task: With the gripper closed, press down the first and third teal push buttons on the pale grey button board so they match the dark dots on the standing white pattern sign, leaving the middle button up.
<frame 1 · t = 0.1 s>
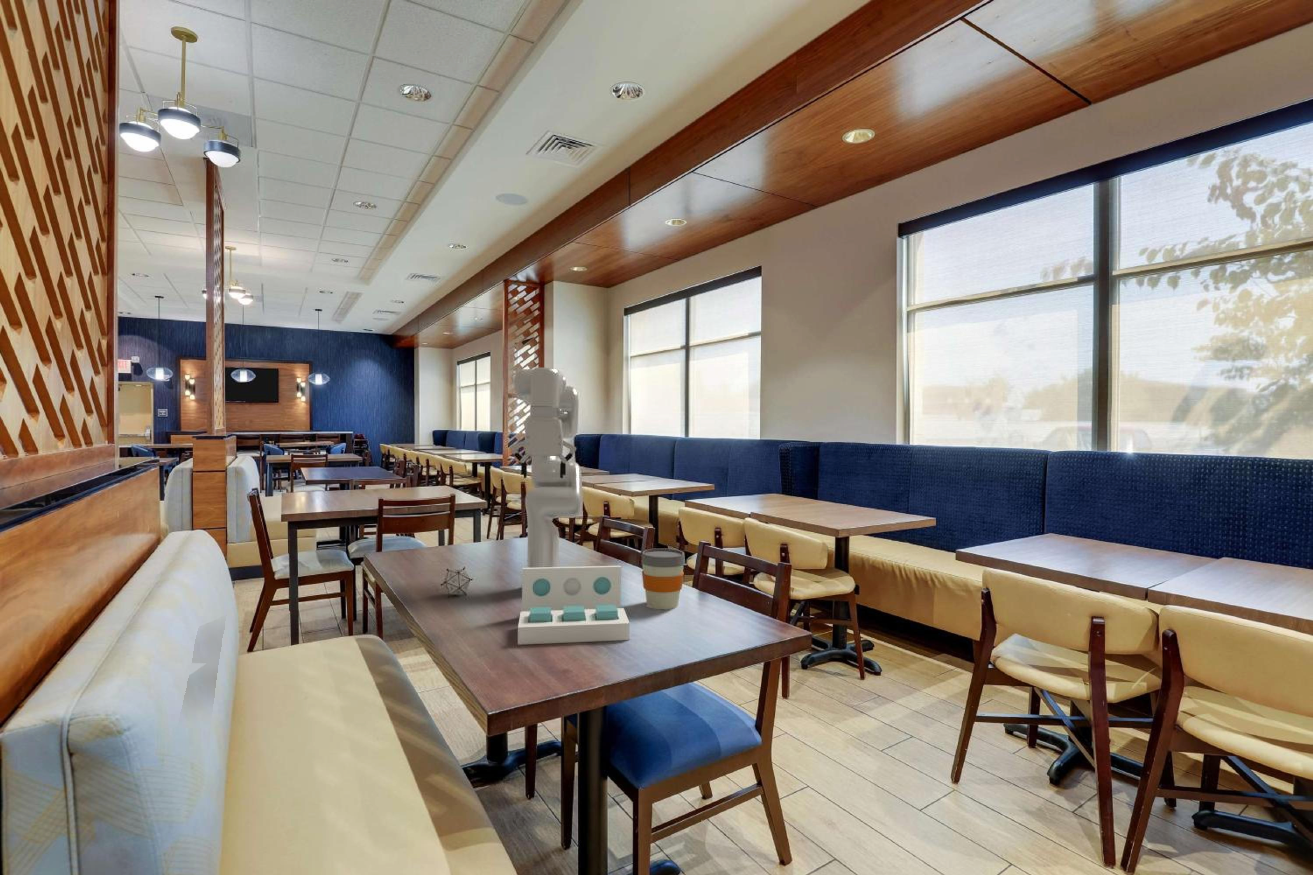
hand: (543, 477, 163), 37 cm above the table, tool pointing down, fingers open, 9 cm apart
grey geometric polyhedron ornament: (456, 596, 179), on the table
button a: (540, 617, 147), point 4 cm above the table, slide at 0.0 cm
pattern sign: (571, 615, 162), on the table
button b: (573, 615, 148), point 4 cm above the table, slide at 0.0 cm
button c: (606, 614, 150), point 4 cm above the table, slide at 0.0 cm
reusable coffee cup: (662, 605, 174), on the table
button board: (573, 633, 148), on the table
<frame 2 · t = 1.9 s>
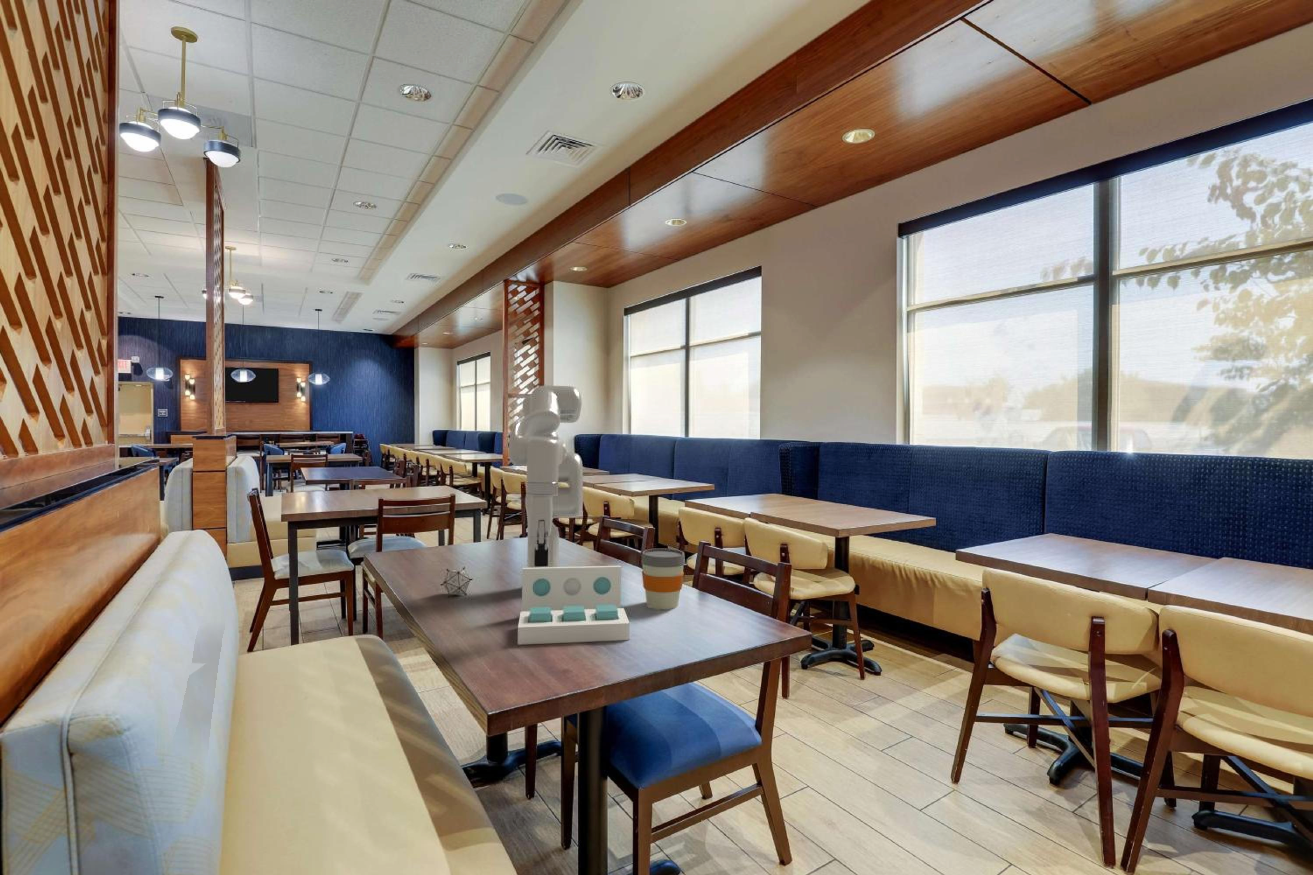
hand: (541, 564, 147), 17 cm above the table, tool pointing down, fingers closed
nothing on the table moved.
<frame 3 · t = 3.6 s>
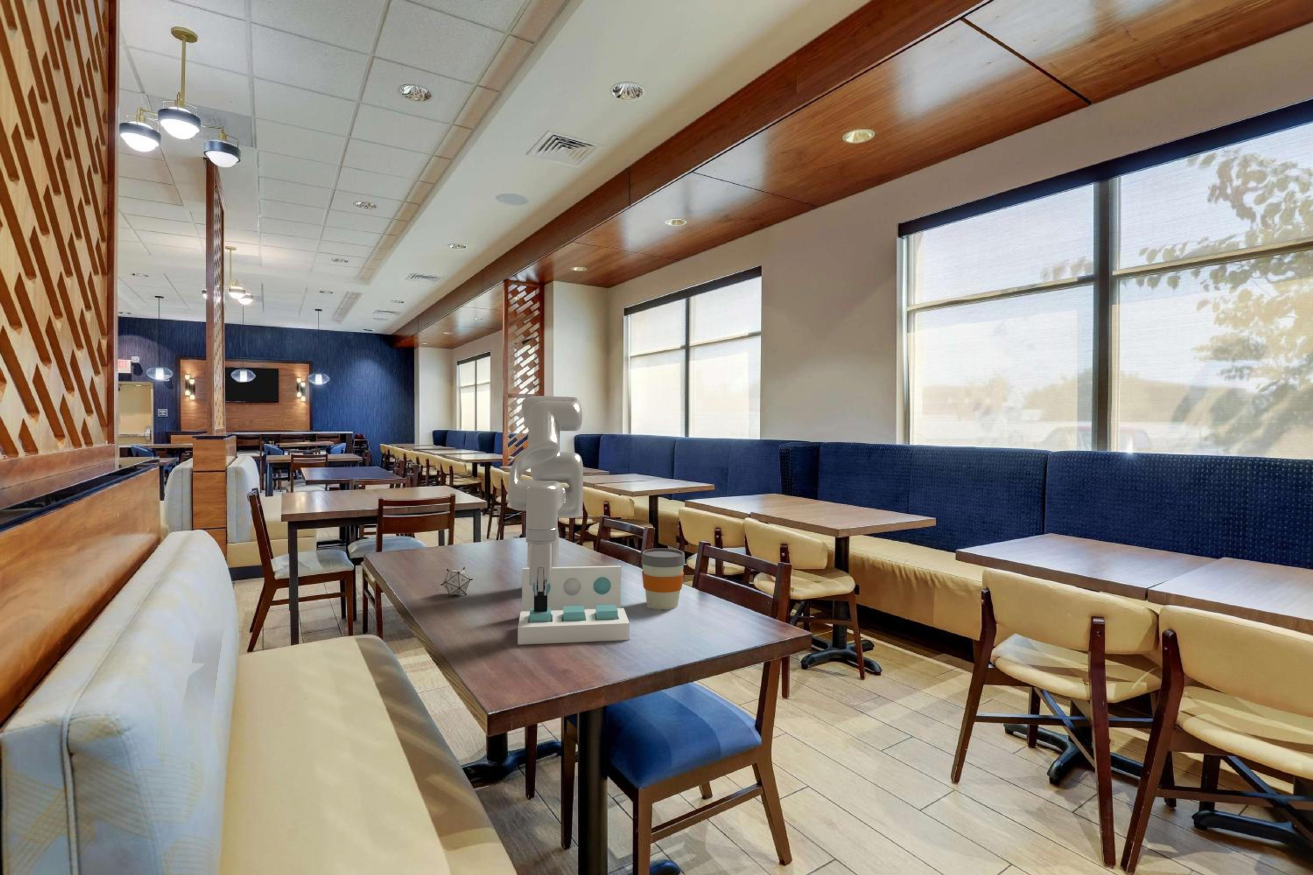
hand: (540, 610, 147), 6 cm above the table, tool pointing down, fingers closed
button a: (540, 617, 147), point 4 cm above the table, slide at 0.1 cm, touching gripper
everything else where it was.
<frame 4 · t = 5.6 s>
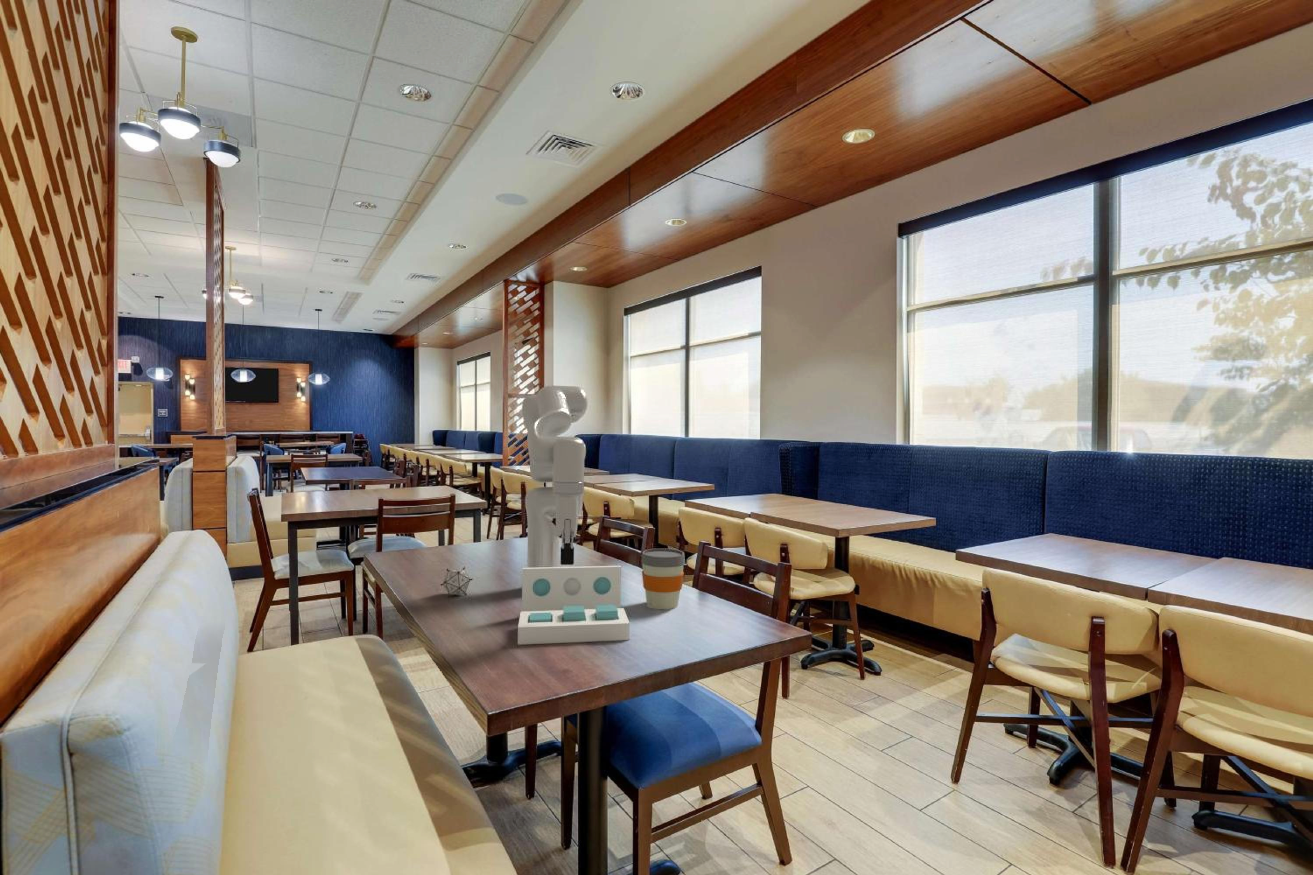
hand: (567, 563, 148), 17 cm above the table, tool pointing down, fingers closed
button a: (540, 622, 147), point 3 cm above the table, slide at 1.4 cm
everything else where it was.
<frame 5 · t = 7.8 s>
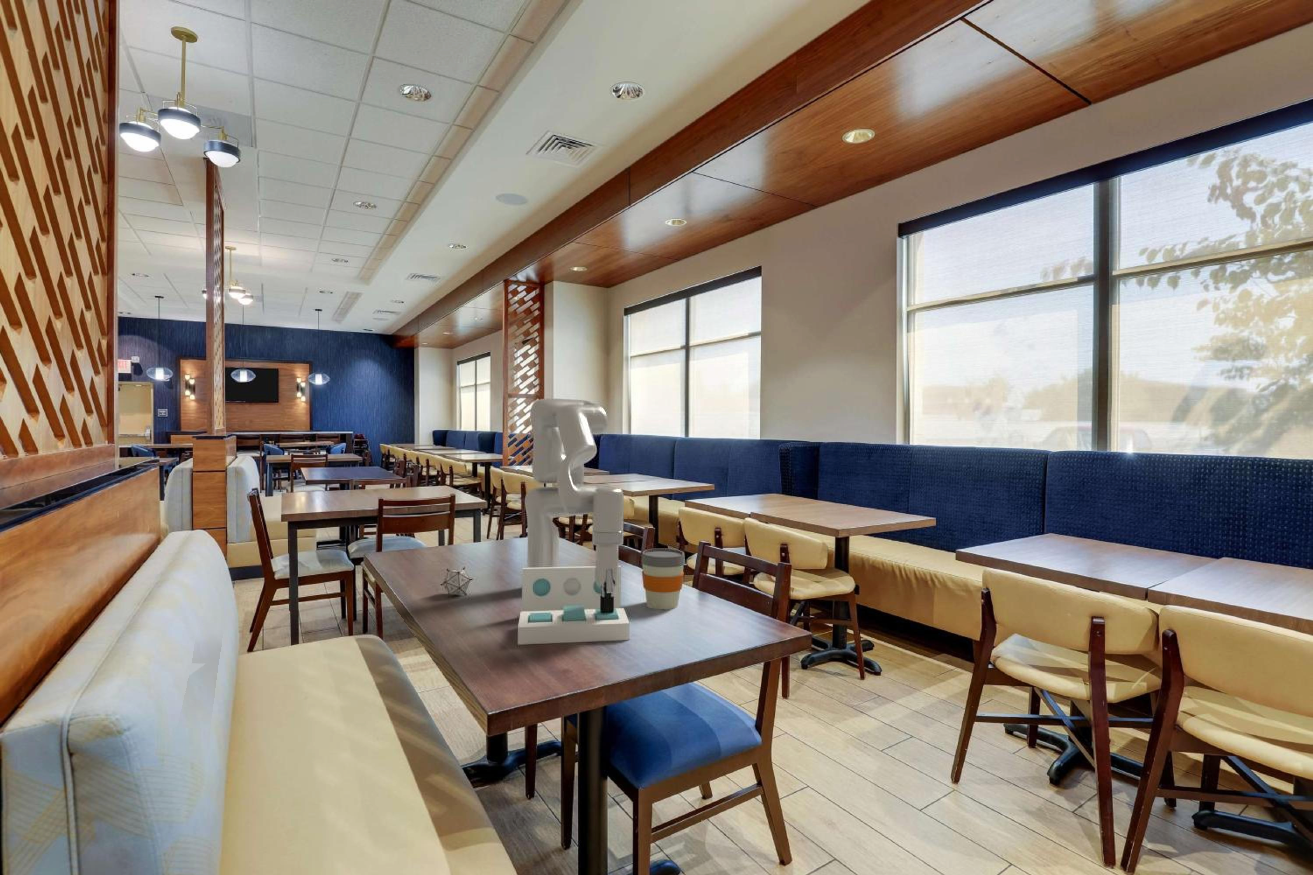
hand: (606, 611, 150), 5 cm above the table, tool pointing down, fingers closed
button c: (606, 618, 150), point 3 cm above the table, slide at 0.9 cm, touching gripper
everything else where it was.
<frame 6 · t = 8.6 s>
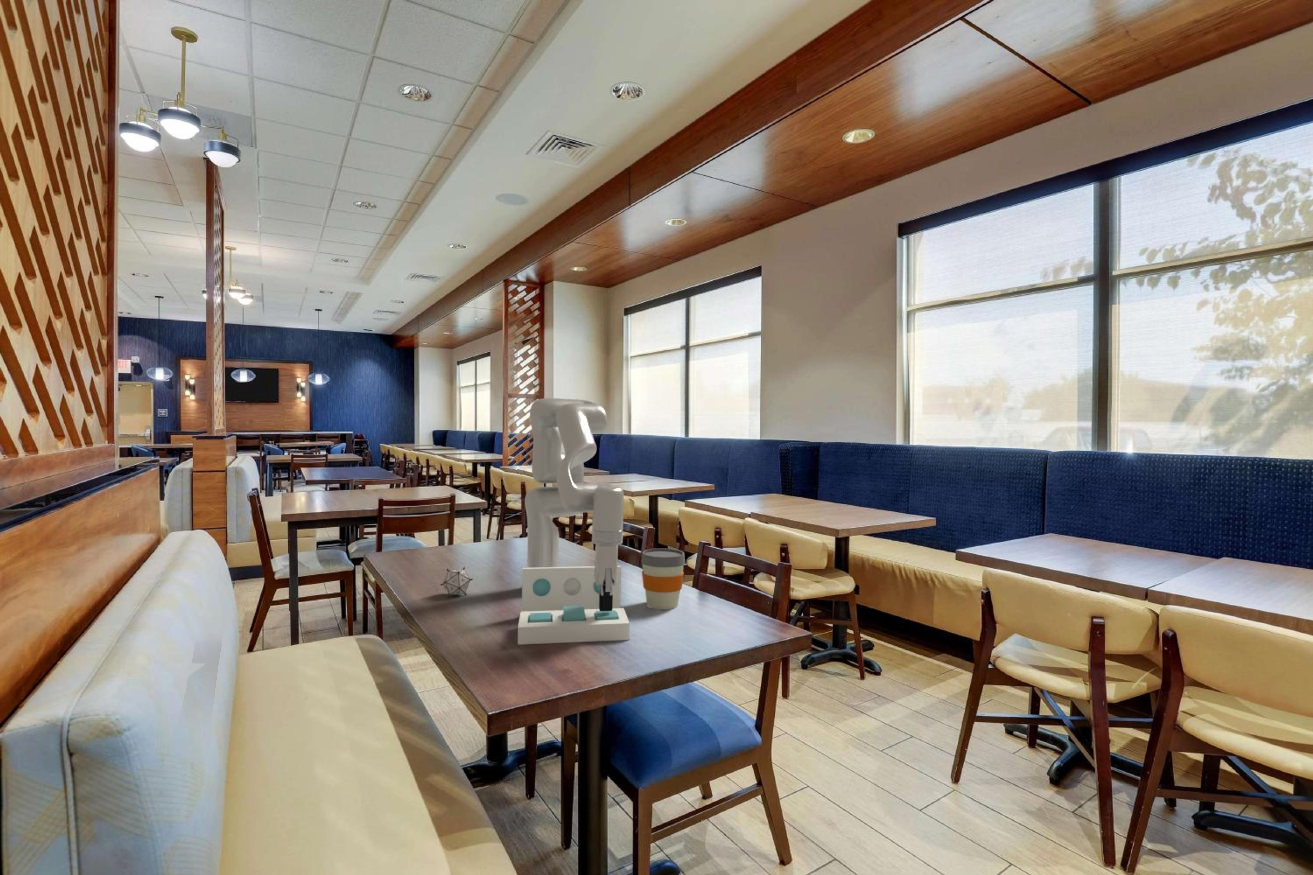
hand: (605, 609, 150), 5 cm above the table, tool pointing down, fingers closed
button c: (606, 620, 150), point 3 cm above the table, slide at 1.4 cm
everything else where it was.
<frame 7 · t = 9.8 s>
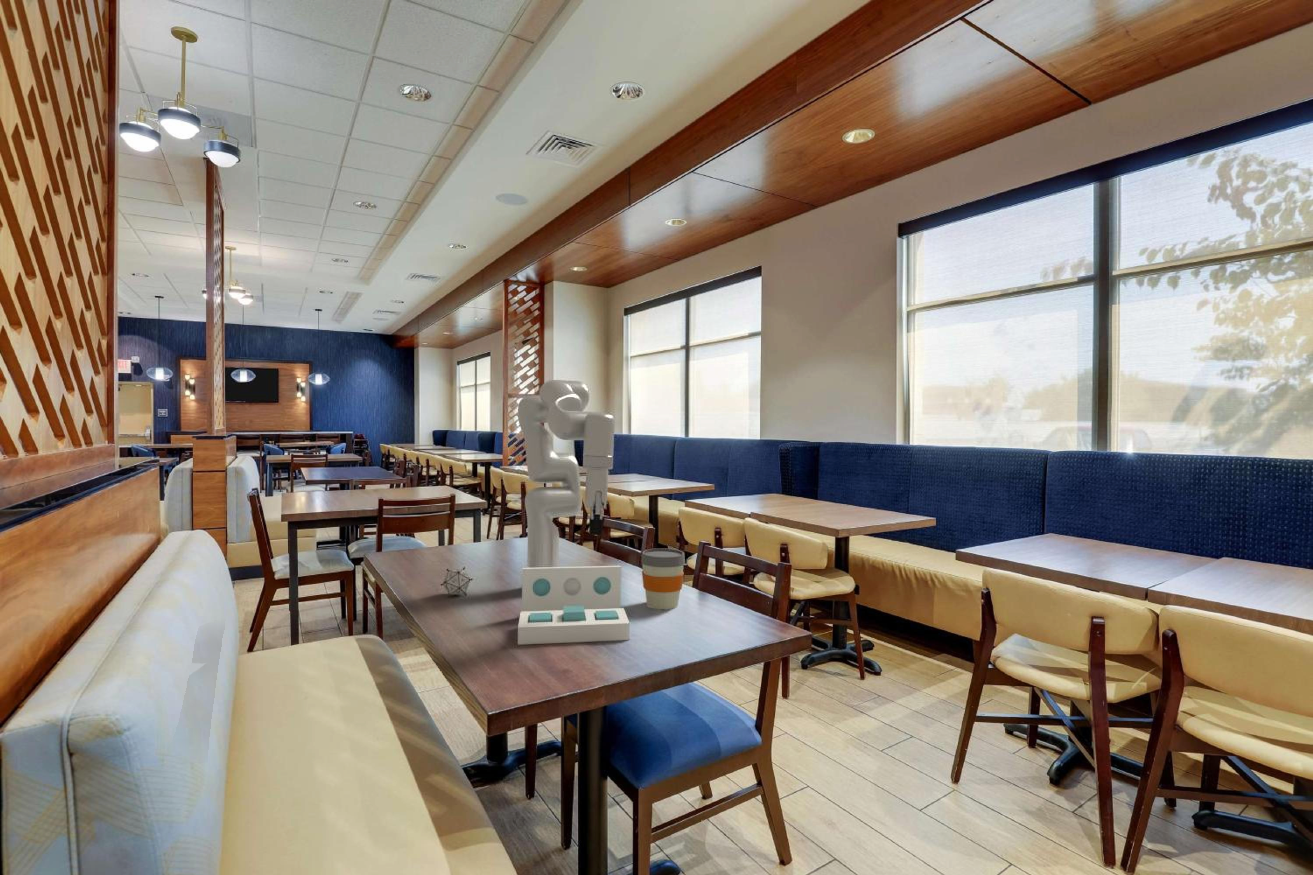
hand: (595, 534, 154), 23 cm above the table, tool pointing down, fingers closed
nothing on the table moved.
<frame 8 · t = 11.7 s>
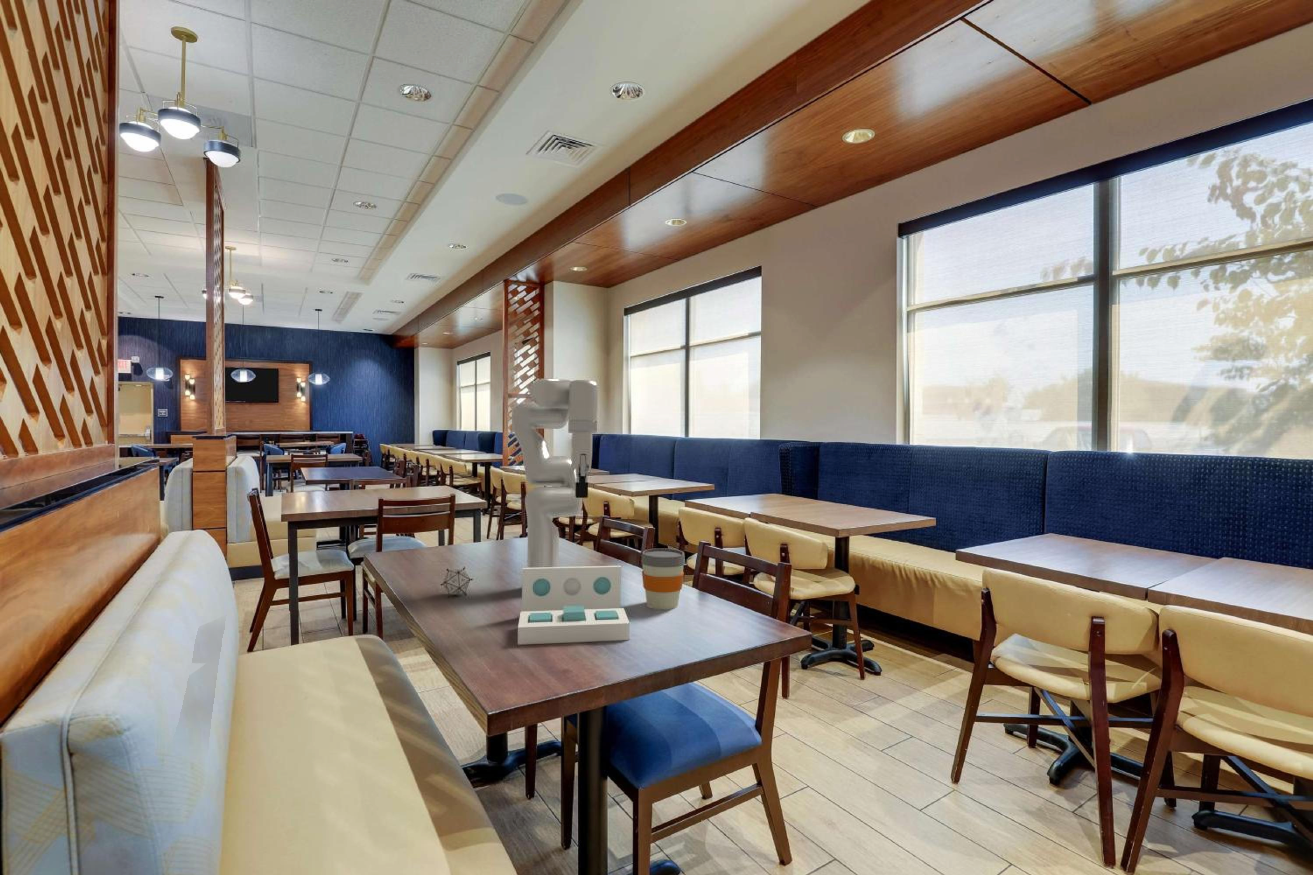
hand: (581, 497, 159), 32 cm above the table, tool pointing down, fingers closed
nothing on the table moved.
at the end: button a slide at 1.4 cm; button c slide at 1.4 cm; button b slide at 0.0 cm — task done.
